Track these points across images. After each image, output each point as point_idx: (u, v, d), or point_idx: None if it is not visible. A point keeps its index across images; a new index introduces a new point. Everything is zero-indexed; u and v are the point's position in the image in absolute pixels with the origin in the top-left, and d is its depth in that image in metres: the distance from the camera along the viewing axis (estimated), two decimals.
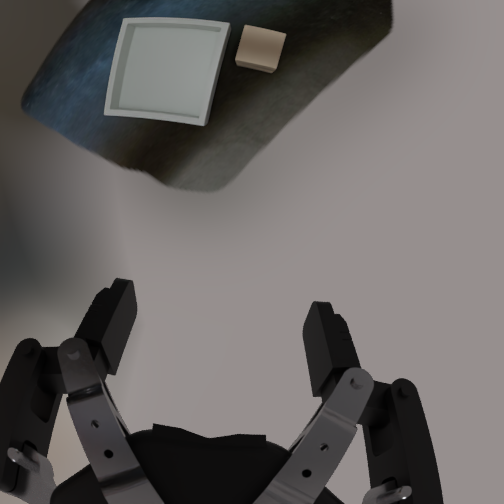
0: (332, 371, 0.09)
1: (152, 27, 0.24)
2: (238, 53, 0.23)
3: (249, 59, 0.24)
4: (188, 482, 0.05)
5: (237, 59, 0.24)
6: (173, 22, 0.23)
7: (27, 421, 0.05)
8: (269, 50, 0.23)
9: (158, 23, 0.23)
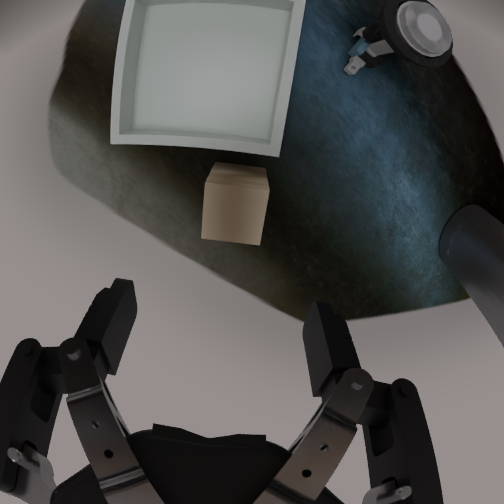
0: (332, 371, 0.09)
1: (284, 35, 0.17)
2: (216, 186, 0.19)
3: (208, 202, 0.19)
4: (188, 482, 0.05)
5: (206, 185, 0.19)
6: (284, 71, 0.16)
7: (27, 421, 0.05)
8: (228, 227, 0.21)
9: (286, 47, 0.16)
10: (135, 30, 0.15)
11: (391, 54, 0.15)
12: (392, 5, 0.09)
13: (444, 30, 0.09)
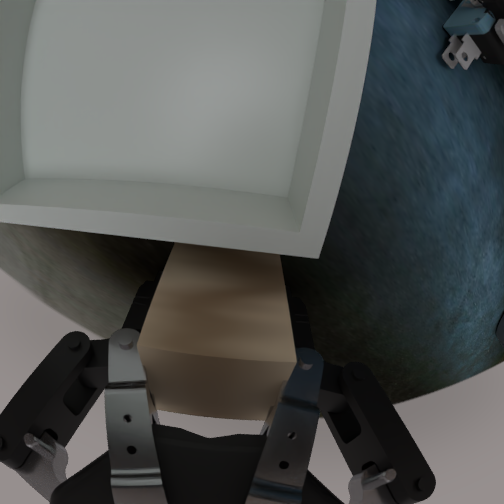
0: None
1: None
2: (164, 354, 0.07)
3: (153, 373, 0.08)
4: (188, 482, 0.05)
5: (141, 348, 0.07)
6: (346, 30, 0.05)
7: (55, 411, 0.06)
8: (205, 405, 0.09)
9: None
10: None
11: None
12: None
13: None
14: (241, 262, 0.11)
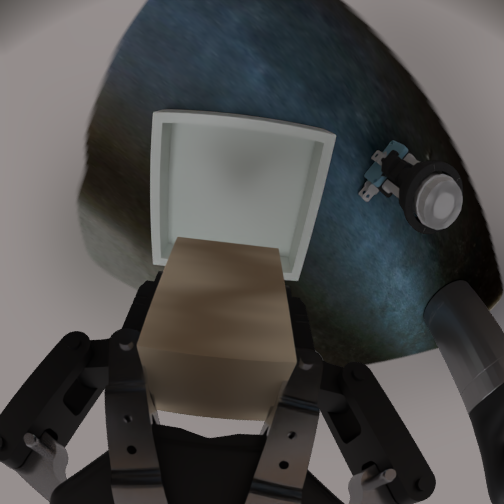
0: None
1: (309, 165, 0.22)
2: (164, 354, 0.07)
3: (153, 373, 0.08)
4: (188, 482, 0.05)
5: (141, 348, 0.07)
6: (308, 215, 0.22)
7: (55, 412, 0.06)
8: (205, 405, 0.09)
9: (311, 190, 0.21)
10: (165, 155, 0.20)
11: None
12: (416, 182, 0.15)
13: (456, 204, 0.14)
14: (241, 262, 0.11)
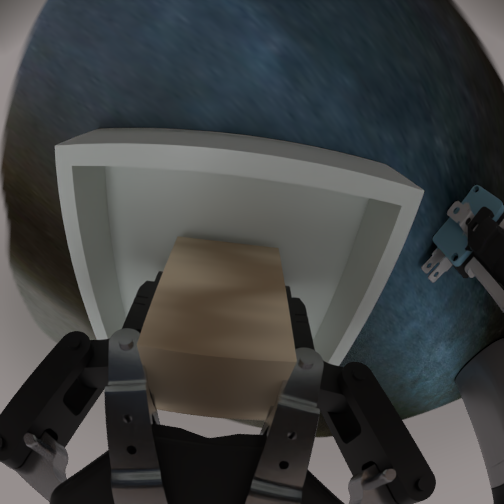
0: None
1: (357, 232, 0.12)
2: (164, 353, 0.07)
3: (153, 373, 0.08)
4: (188, 482, 0.05)
5: (141, 348, 0.07)
6: (351, 324, 0.12)
7: (55, 412, 0.06)
8: (205, 404, 0.09)
9: (363, 285, 0.11)
10: (94, 221, 0.10)
11: None
12: None
13: None
14: (241, 262, 0.11)
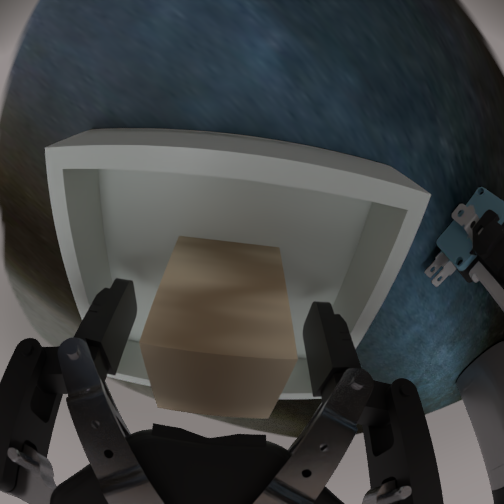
0: (332, 371, 0.09)
1: (359, 236, 0.12)
2: (167, 351, 0.07)
3: (155, 371, 0.08)
4: (188, 482, 0.05)
5: (143, 346, 0.07)
6: (353, 331, 0.12)
7: (27, 421, 0.05)
8: (206, 402, 0.09)
9: (366, 292, 0.11)
10: (87, 225, 0.10)
11: None
12: None
13: None
14: (242, 261, 0.11)
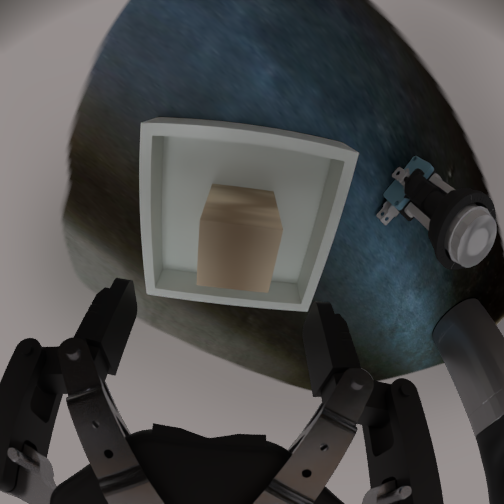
0: (332, 371, 0.09)
1: (323, 185, 0.20)
2: (214, 224, 0.15)
3: (204, 243, 0.15)
4: (188, 482, 0.05)
5: (201, 223, 0.15)
6: (322, 243, 0.19)
7: (27, 421, 0.05)
8: (230, 273, 0.16)
9: (327, 215, 0.19)
10: (156, 173, 0.17)
11: None
12: (452, 216, 0.12)
13: (489, 239, 0.12)
14: (251, 195, 0.19)
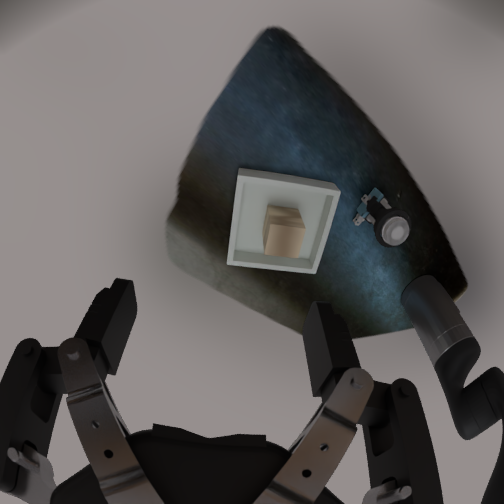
0: (332, 371, 0.09)
1: (323, 205, 0.39)
2: (276, 226, 0.34)
3: (270, 234, 0.34)
4: (188, 482, 0.05)
5: (270, 225, 0.34)
6: (323, 235, 0.38)
7: (27, 421, 0.05)
8: (281, 248, 0.35)
9: (325, 221, 0.38)
10: None
11: None
12: (382, 221, 0.31)
13: (405, 231, 0.31)
14: (288, 211, 0.38)
